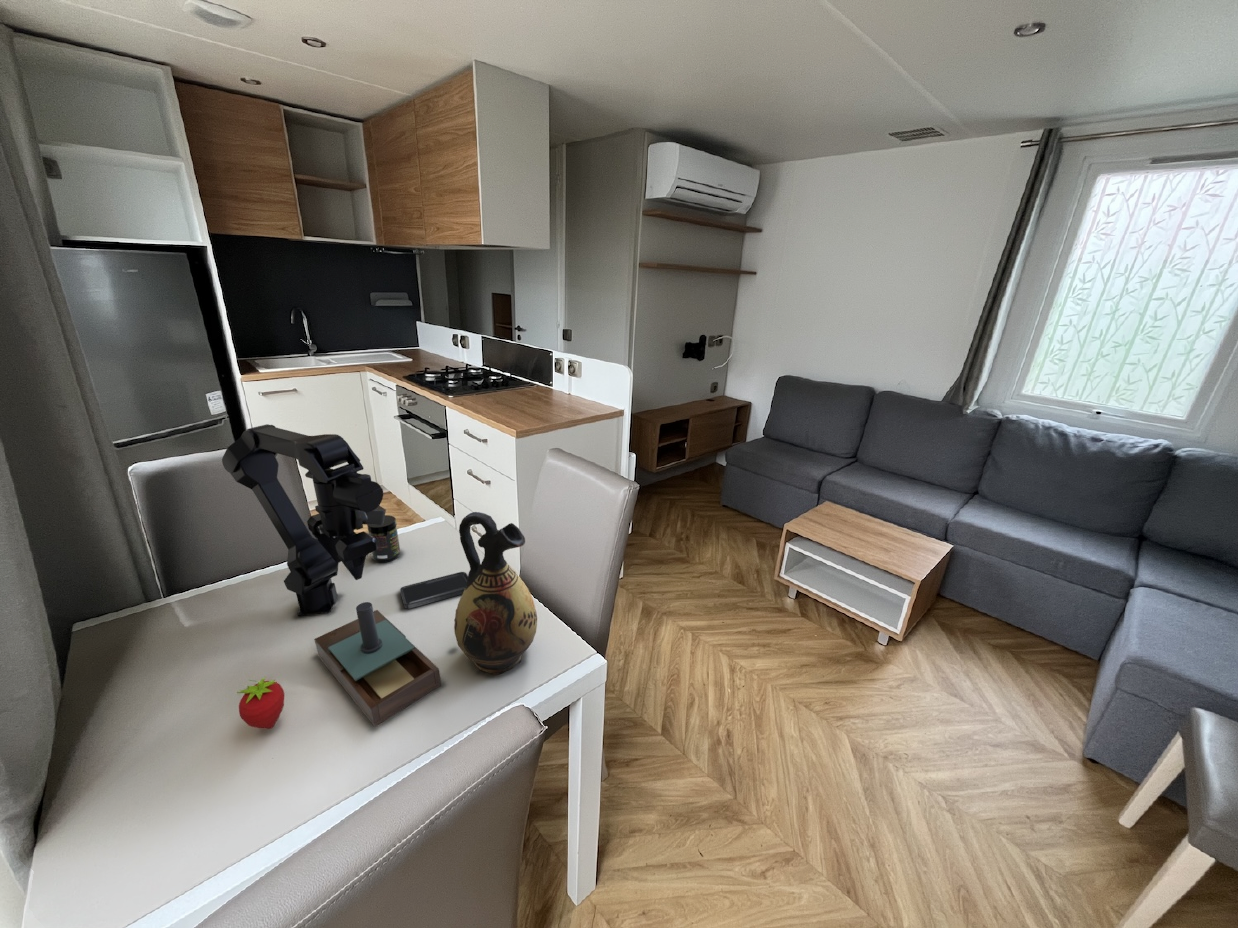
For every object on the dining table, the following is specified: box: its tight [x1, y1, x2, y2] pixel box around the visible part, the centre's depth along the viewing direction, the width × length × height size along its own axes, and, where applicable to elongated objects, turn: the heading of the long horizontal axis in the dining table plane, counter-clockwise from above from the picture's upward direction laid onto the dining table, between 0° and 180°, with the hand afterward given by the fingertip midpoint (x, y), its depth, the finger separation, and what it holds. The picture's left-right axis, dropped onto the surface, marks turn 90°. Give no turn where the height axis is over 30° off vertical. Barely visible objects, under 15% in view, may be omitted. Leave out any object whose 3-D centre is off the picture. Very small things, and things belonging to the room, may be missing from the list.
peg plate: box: [328, 601, 416, 681], centre depth 89 cm, size 12×11×9 cm
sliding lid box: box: [314, 609, 442, 727], centre depth 92 cm, size 24×12×4 cm, turn 49°
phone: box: [399, 571, 468, 609], centre depth 115 cm, size 8×1×15 cm
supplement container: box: [366, 514, 402, 563], centre depth 128 cm, size 7×7×10 cm
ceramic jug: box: [453, 511, 538, 675], centre depth 92 cm, size 17×15×30 cm
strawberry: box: [236, 676, 285, 730], centre depth 78 cm, size 6×8×10 cm
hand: (348, 570), depth 100 cm, fingers open, 9 cm apart
